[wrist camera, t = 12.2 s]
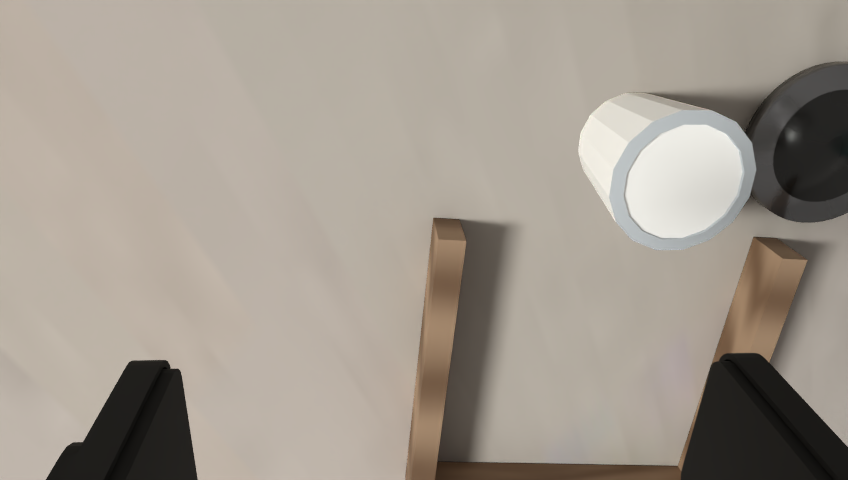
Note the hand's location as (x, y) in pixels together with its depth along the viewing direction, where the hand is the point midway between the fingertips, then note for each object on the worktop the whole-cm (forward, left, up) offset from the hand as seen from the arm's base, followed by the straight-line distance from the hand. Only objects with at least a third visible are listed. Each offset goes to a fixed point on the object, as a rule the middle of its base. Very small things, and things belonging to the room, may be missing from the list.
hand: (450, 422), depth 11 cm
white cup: (+1, +13, -25) cm, 28 cm away
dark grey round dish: (0, +24, -25) cm, 34 cm away
